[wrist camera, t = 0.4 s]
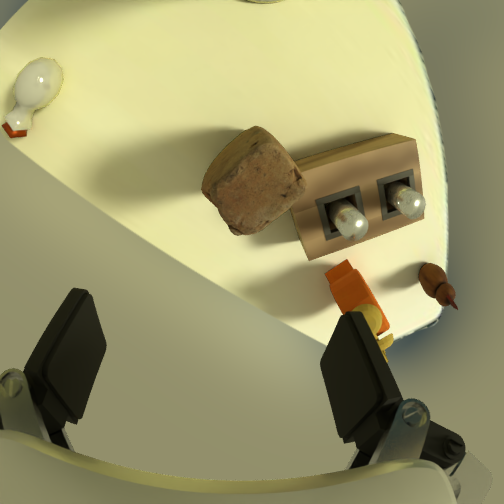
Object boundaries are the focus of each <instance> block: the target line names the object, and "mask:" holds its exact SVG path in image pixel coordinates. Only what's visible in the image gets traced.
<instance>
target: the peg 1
mask: <svg viewBox="0 0 504 504" xmlns="http://www.w3.org/2000/svg"><path fill="white" fill-rule="evenodd" d="M326 212H327V215H328V217H329V218H330V219H331V221H332V222H333V223H334V225H335V226H336V227H337V229H338V230H339V231H340V233H341V234H342V235H343V237H344V238H345V239H346V240H348V241H357V240H360V239H361V238H362V237H364V235H365V234H366V233H367V230H368V221H367V219H366V218H365V217H364V216H363V215H362V214H361V213H360V212H359V211H358V210H357V209H356V208H355V207H354V206H353V205H352V204H351V203H350V202H349V201H348V200H347V199H346V198H341V199H338V200H335V201H332V202H329V203H328V204H327V207H326Z"/></svg>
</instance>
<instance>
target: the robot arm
mask: <svg viewBox="0 0 504 504" xmlns="http://www.w3.org/2000/svg"><path fill="white" fill-rule="evenodd" d="M247 1H251V2H256V3H275V2H280V1H283V0H247ZM106 346H107V345H106V340H105V337H104V334H103V331H102V328H101V325H100V322H99V318H98V315H97V311H96V308H95V304H94V301H93V297H92V295H91V294H89V292H88V291H87V290H85V289H79V288H73V289H72V290H71V291H70V292H69V294H68V295H67V297H66V298H65V300H64V302H63V303H62V304H61V306H60V307H59V309H58V311H57V312H56V314H55V315H54V317H53V318H52V320H51V322H50V323H49V325H48V326H47V328H46V330H45V331H44V333H43V335H42V336H41V338H40V340H39V342H38V344H37V345H36V347H35V349H34V351H33V352H32V354H31V356H30V358H29V360H28V361H27V363H26V365H25V367H24V368H25V369H24V371H23V372H22V371H21V370H19V369H15V368H12V369H8V370H6V371H4V372H3V373H2V374H1V375H0V504H482V502H483V500H484V499H485V497H486V495H487V493H488V491H489V490H490V488H491V485H492V479H493V478H492V474H491V472H490V471H489V470H488V469H487V468H486V467H485V466H484V465H483V464H482V463H481V462H480V461H479V460H478V459H477V458H476V457H475V456H474V455H473V454H472V453H470V452H469V451H467V452H465V443H464V441H463V439H462V438H461V436H459V435H458V434H456V433H454V432H452V431H450V430H448V429H446V428H444V427H442V426H440V425H438V424H436V423H435V422H433V421H431V420H430V412H429V410H428V408H427V406H426V405H425V404H424V403H423V402H421V401H420V400H417V399H414V398H411V399H410V398H409V399H406V400H403V398H402V395H401V393H400V391H399V388H398V386H397V384H396V382H395V379H394V377H393V375H392V373H391V371H390V368H389V366H388V364H387V362H386V360H385V358H384V356H383V353H382V351H381V349H380V347H379V345H378V343H377V341H376V339H375V337H374V335H373V333H372V331H371V329H370V327H369V325H368V323H367V321H366V319H365V317H364V315H363V313H362V312H360V311H347V312H345V314H344V315H341V316H340V318H339V321H338V323H337V325H336V328H335V330H334V332H333V334H332V337H331V339H330V341H329V343H328V345H327V347H326V350H325V352H324V354H323V356H322V358H321V361H320V367H321V371H322V375H323V378H324V382H325V386H326V389H327V393H328V397H329V401H330V404H331V408H332V412H333V416H334V420H335V424H336V428H337V432H338V435H339V437H340V438H343V442H344V443H350V442H354V441H355V443H356V447H357V449H356V451H355V452H354V454H353V456H352V458H351V460H350V461H349V463H348V465H347V467H346V469H345V470H344V471H338V472H333V473H327V474H320V475H314V476H307V477H298V478H288V479H276V480H256V481H255V480H253V481H230V480H208V479H195V478H184V477H177V476H169V475H163V474H157V473H151V472H146V471H141V470H136V469H132V468H127V467H123V466H120V465H116V464H112V463H108V462H105V461H101V460H98V459H95V458H92V457H89V456H85V455H82V454H79V453H76V452H75V451H74V449H73V446H72V444H71V442H70V440H69V438H68V435H67V433H66V431H65V428H64V426H65V423H66V421H68V422H70V423H73V424H77V422H78V419H81V418H82V417H83V414H84V411H85V408H86V404H87V401H88V398H89V395H90V392H91V390H92V387H93V384H94V381H95V378H96V375H97V373H98V370H99V367H100V365H101V362H102V359H103V357H104V354H105V351H106Z"/></svg>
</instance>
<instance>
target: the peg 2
mask: <svg viewBox="0 0 504 504" xmlns="http://www.w3.org/2000/svg"><path fill="white" fill-rule="evenodd" d="M384 192H385V198H386V201H387V202H389V203H390V204H391V205H392V206H394V207H395V208H396V209H398V210H399V211H400V212H401V213H403V214H404V215H405V216H406V217H408V218H409V219H416V218H418V217H420V216H421V215H422V213H423V212H424V209H425V205H426V203H425V198H424V197H423V195H421V194H420V193H418V192H417V191H415V190H413V189H412V188H410V187H408V186H407V185H405V184H403V183H402V182H400V181H398V180H396V181H393V182H389V183H386V184H384Z"/></svg>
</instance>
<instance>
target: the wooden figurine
mask: <svg viewBox="0 0 504 504" xmlns="http://www.w3.org/2000/svg"><path fill="white" fill-rule="evenodd" d="M419 280H420V283H421V285H422V287H423V289H424V291H425V292H426V294H427V295H428V296H430V297H432V298H436V300H437V301H438V303H439V304H440V305H442V306H448V305H450V304H451V305H452V306H453V307H454V308H455V309H457V310H458V308H457V306H456V304H455V303H454V301H453V300H454V298H455V290H454V288H453V287H452V286H451V285H450V284H448V281H447V277H446V274H445V272H444V270H443V269H442V268H441V267H439V266H438V265H435V264H432V263H428V264H425V265H424V266H423V267H422V268H421V269H420V272H419Z"/></svg>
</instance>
